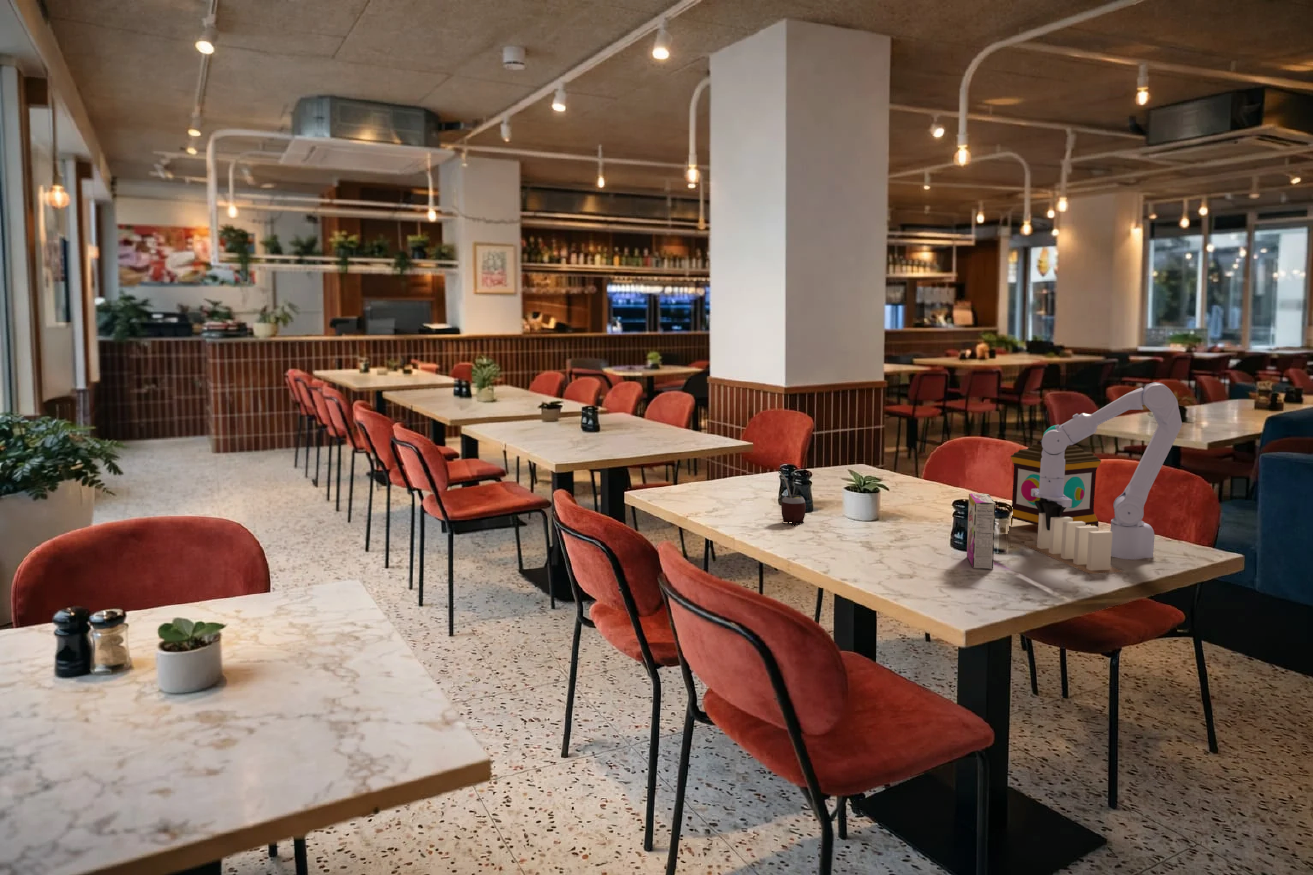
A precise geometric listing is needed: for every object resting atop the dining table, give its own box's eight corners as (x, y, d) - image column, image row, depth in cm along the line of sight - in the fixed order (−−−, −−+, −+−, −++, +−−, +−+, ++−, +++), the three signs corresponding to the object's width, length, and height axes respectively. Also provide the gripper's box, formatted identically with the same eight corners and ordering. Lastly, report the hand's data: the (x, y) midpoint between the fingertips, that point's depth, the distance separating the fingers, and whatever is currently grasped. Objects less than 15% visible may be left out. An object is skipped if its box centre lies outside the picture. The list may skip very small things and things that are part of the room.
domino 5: (1086, 568, 209) (1088, 531, 208) (1105, 567, 210) (1108, 530, 209) (1090, 570, 207) (1093, 533, 206) (1110, 569, 208) (1112, 532, 207)
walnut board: (1056, 547, 232) (1056, 544, 232) (1123, 575, 206) (1124, 571, 206) (1025, 548, 230) (1025, 545, 230) (1088, 576, 205) (1088, 573, 205)
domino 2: (1048, 552, 224) (1050, 517, 222) (1066, 551, 224) (1068, 516, 223) (1052, 553, 222) (1054, 518, 221) (1070, 553, 223) (1072, 518, 222)
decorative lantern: (1053, 541, 238) (1060, 430, 234) (997, 525, 256) (1002, 422, 252) (1106, 533, 246) (1113, 426, 242) (1048, 519, 264) (1054, 419, 260)
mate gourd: (807, 526, 256) (808, 475, 254) (779, 526, 256) (780, 475, 254) (803, 520, 263) (804, 470, 261) (776, 520, 263) (777, 470, 261)
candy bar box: (965, 556, 223) (968, 492, 221) (986, 557, 222) (989, 493, 220) (971, 569, 212) (974, 501, 210) (993, 570, 211) (997, 502, 209)
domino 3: (1060, 557, 219) (1062, 521, 218) (1079, 556, 220) (1081, 521, 218) (1064, 559, 217) (1066, 523, 216) (1083, 558, 218) (1085, 522, 217)
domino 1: (1037, 547, 229) (1039, 513, 227) (1055, 546, 229) (1057, 512, 228) (1040, 548, 227) (1042, 514, 226) (1058, 548, 228) (1060, 513, 226)
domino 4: (1073, 562, 214) (1075, 526, 213) (1092, 562, 215) (1094, 525, 213) (1077, 564, 212) (1079, 528, 211) (1096, 563, 213) (1098, 527, 212)
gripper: (1021, 472, 232) (1018, 523, 234) (1054, 482, 218) (1051, 536, 220) (1046, 471, 233) (1043, 522, 235) (1080, 481, 219) (1077, 535, 221)
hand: (1048, 529), depth 228 cm, fingers closed on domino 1, 1 cm apart
